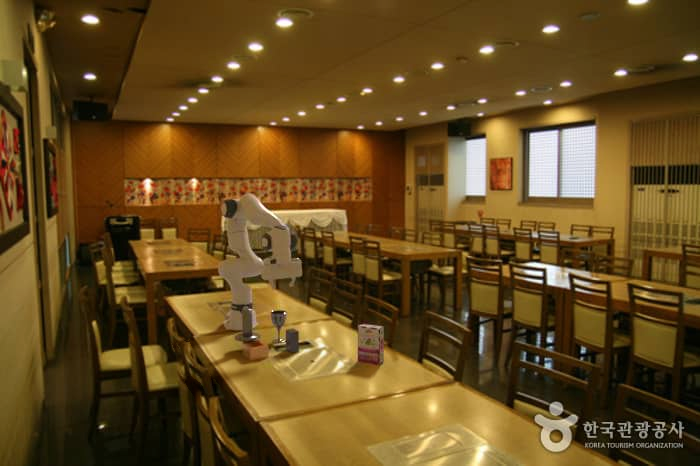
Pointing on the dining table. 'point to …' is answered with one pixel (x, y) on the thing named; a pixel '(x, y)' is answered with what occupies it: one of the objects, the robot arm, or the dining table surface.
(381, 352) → the candy bar box
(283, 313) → the wine glass
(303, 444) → the dining table surface
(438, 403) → the dining table surface
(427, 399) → the dining table surface
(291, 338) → the dark brown upright block
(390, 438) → the dining table surface
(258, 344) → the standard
